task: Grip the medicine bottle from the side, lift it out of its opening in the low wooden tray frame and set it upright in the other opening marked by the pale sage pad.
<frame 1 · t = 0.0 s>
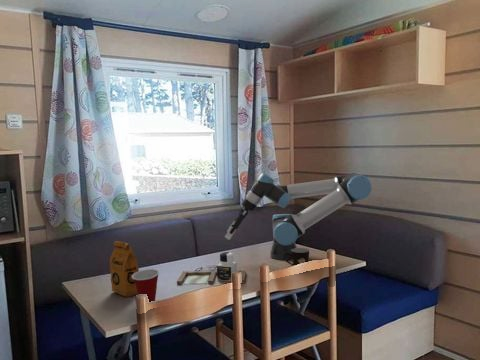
hand: (228, 235, 212), 15 cm above the table, tool tilted 35°, fingers open, 13 cm apart
coffee mug: (297, 270, 199), on the table
plastic cup: (147, 302, 166), on the table
coffee package: (126, 293, 178), on the table
wooden tray frame: (212, 278, 192), on the table
medicine bottle: (227, 279, 191), on the table
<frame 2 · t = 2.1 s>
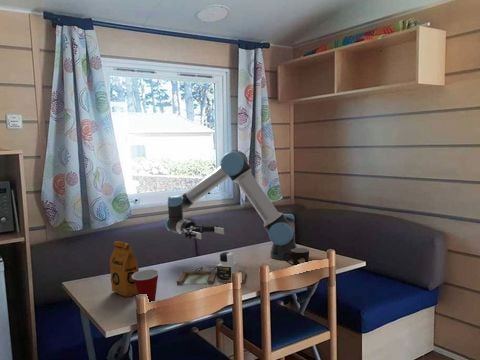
hand: (212, 233, 197), 20 cm above the table, tool horizontal, fingers open, 13 cm apart
nothing on the table moved.
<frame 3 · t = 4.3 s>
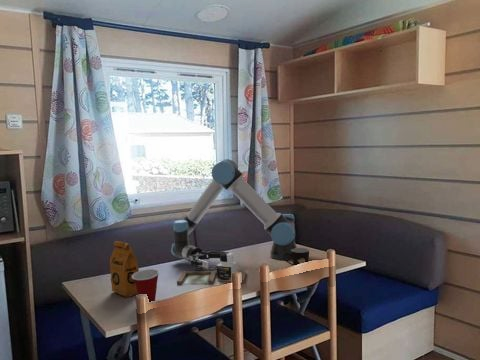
hand: (218, 261, 194), 7 cm above the table, tool horizontal, fingers open, 13 cm apart
nothing on the table moved.
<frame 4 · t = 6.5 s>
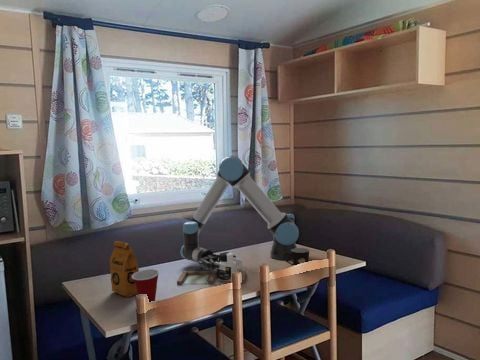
hand: (233, 265, 187), 7 cm above the table, tool horizontal, fingers closed on medicine bottle, 9 cm apart
medicine bottle: (227, 279, 191), on the table, touching gripper
everything else where it was.
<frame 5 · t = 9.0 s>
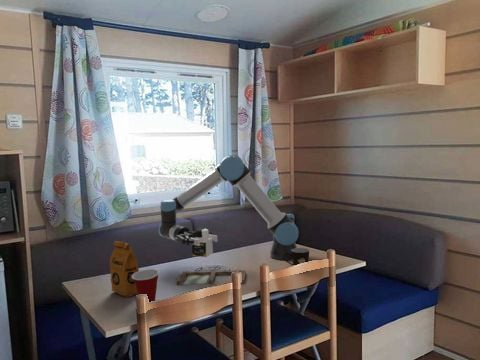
hand: (208, 240, 187), 19 cm above the table, tool horizontal, fingers closed on medicine bottle, 9 cm apart
medicine bottle: (202, 255, 191), point 11 cm above the table, touching gripper
everything else where it was.
when the fingers open (9 cm above the table, at t = 11.6 s): medicine bottle drops 1 cm, resting on wooden tray frame.
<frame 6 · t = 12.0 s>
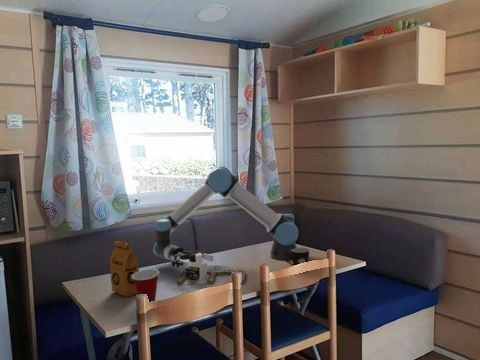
hand: (200, 261, 189), 9 cm above the table, tool horizontal, fingers open, 13 cm apart
medicine bottle: (196, 279, 192), resting on wooden tray frame
everything else where it was.
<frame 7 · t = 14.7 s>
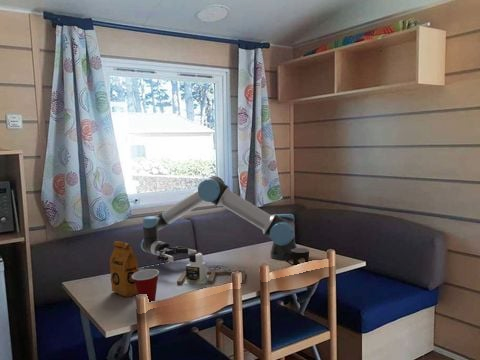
hand: (184, 256, 198), 9 cm above the table, tool horizontal, fingers open, 13 cm apart
nothing on the table moved.
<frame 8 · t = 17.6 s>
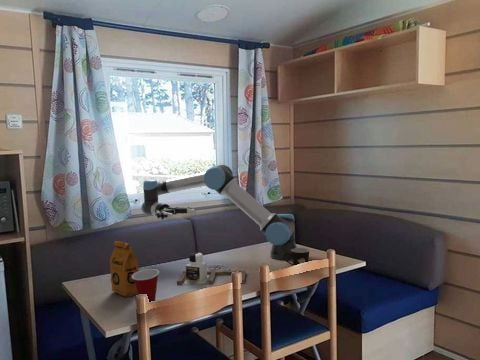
hand: (183, 214, 205), 28 cm above the table, tool horizontal, fingers open, 13 cm apart
nothing on the table moved.
at the end: medicine bottle inside the target area on the wooden tray frame (0.4 cm from its centre), point 0.0 cm above the wooden tray frame's base; medicine bottle tilted 0°; the gripper is holding nothing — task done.
